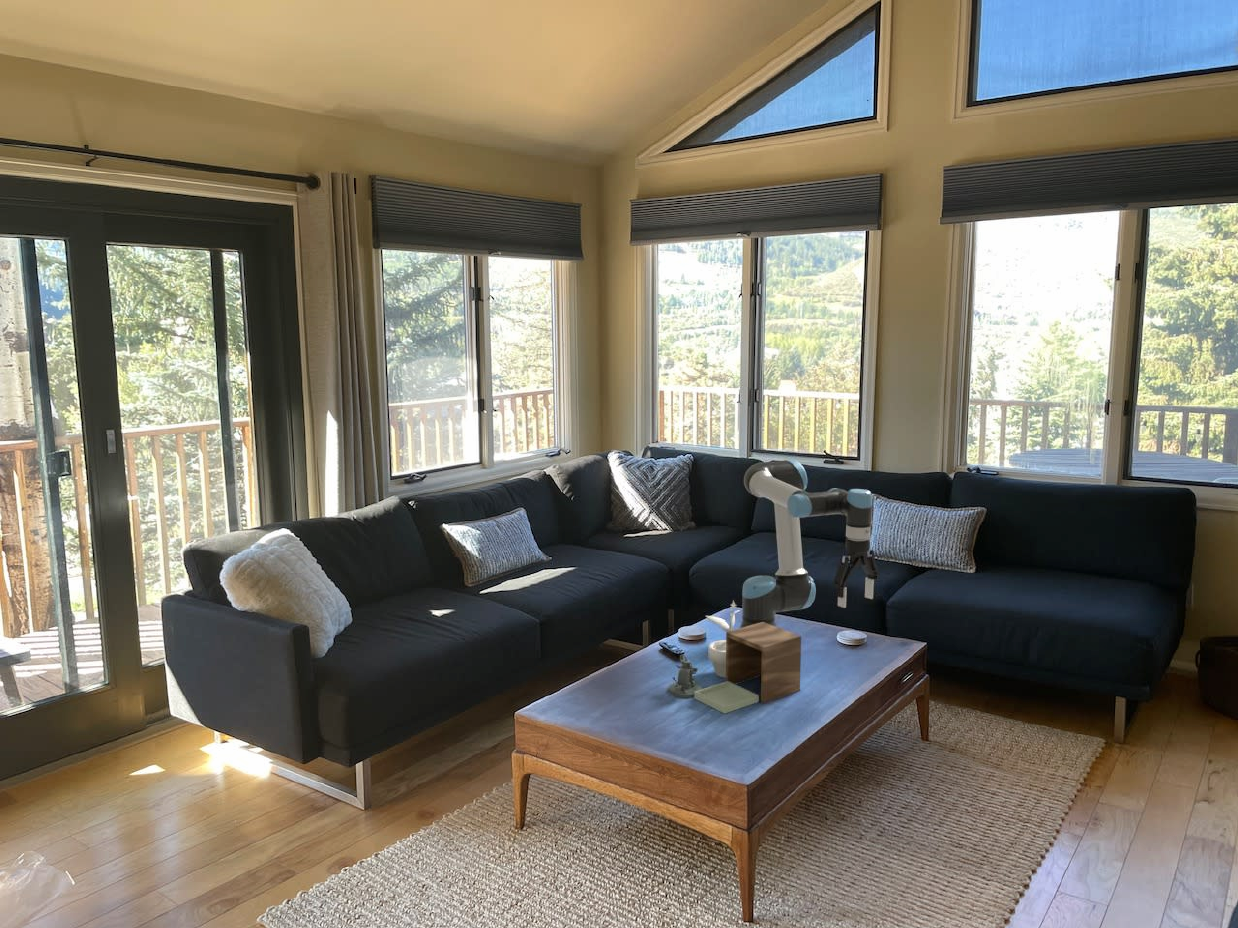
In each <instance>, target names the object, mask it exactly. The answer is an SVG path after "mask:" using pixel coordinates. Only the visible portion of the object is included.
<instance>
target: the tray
mask: <svg viewBox="0 0 1238 928" xmlns="http://www.w3.org/2000/svg"><path fill="white" fill-rule="evenodd" d="M759 696H760V695H759V694H757V693H755V692H752V691H750V690H748V689H746V688H744V687H741V686H739V685H737V684H733V683H731V682H729V681H726V680H725V681H724V682H721V683H718V684H714V685H711V686H707V687H705V688H702V690H698V691H695V692H694V697H693V698H694V699H695V700H697V701H699V702H701V703H702V704H705V705H707V706H709V707H711V708H713V709H714V710H717V711H718V712H721V713H723V714H727V713H731V712H733V711H737V710H739V709H742V708H745V707H748V706H751V705H753V704H756V703H759V702H760V701H759V700H760V697H759Z"/></svg>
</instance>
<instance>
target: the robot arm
mask: <svg viewBox="0 0 1238 928" xmlns="http://www.w3.org/2000/svg"><path fill="white" fill-rule="evenodd" d="M743 485H744V487H745V489H746V491H747V492H748V493H749V494H751V495H752V496H755V497H757V498H766V499H768V500H769V501H771V502H773V505H774V506H773V507H774V517H775V518H774V519H775V531H776V532H775V534H776V544H777V546H776V547H777V559H778V570H777V571H776V572H775V577H774V576H771V575H755V576H752V577H748V578H747V579H746V580H745V581H744V582H743V585H742V592H741V595H742V599H741V600H742V605H741V606H742V607H741V610H742V611H741V612H742V616H741V617H742V619H741V623H740V626H739V628H743V627H746V626H750V625H753V624H757V623H760V622H765V623H767V624H770V625H773V626H775V627H777V625H776V613H781V612H788V611H800V610H803V609H804V610H805V609H807V608H809V607H811V606H812V604H813V603H814V601H815V599H816V593H817V592H816V591H817V590H816V584H815V582H814V579H813V578H812V576H810V575H809V573H808V571H807V569H805V568H804V565H803V563H804V562H803V550H802V549H803V548H802V538H801V537H802V536H801V525H800V524H801V522H800V519H804V518H810V517H820V516H830V515H842V516H845V517H846V524H845V525H846V527H845V537H846V538H845V551H847V555H841V556H840V561H839V564H838V566H837V567H838V568H837V570H836V574H835V576H834V580H833V583H832V586H833V587H834V586H835V587H837V595H836V596H837V607H839V608H843V609H845V608H847V587H846V585H847V584H848V582H849V580H850V578H851V575H852V574H853V572H854V571H856V569H857V568H860V567H861V568H862V571H864V573H865V575H866V577H865V581H864V583H865V584H864V585H865V586H864V598H866V599H870V600H873V599H874V588H875V587H874V586H875V580H878V577H879V576H880V572H879V568H878V565H877V562H876V558H875V551H874V550H873V549H871V540H870V538H871V524H872V509H873V508H872V507H873V498H872V497H873V495H872V492H871V491H870V490H868V489H862V488H861V489H860V488H851V489H849V490H848V491H847V490H845V489H842V488H835V487H834V488H830V489H829V490H827V491H820V492H807V491H805V490H806V489H807V486H808V476H807V472H806V469H805V468H804V466H803V465H802V464H801V463H800V462H799V461H797V460H787V459H785V460H778V461H775V460H774V461H765V462H764V461H762V462H758V463H754V464H752V465H751V466H749V468H748V469H747V470H746V471H745V474H744V476H743Z"/></svg>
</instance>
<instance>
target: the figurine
mask: <svg viewBox="0 0 1238 928" xmlns="http://www.w3.org/2000/svg"><path fill="white" fill-rule="evenodd" d="M679 663H680V664H681V665H679V666H678V665H677V664H676V665H675V667H676V668H678V669H679V670H678V674H677V679H676V677H675V676H673V677H672V680H673V681H675V682H673V683H671V684H670V685H669V686H668V692H669V694H670V695H672V696H674V697H677V698H681V699H682V698H683V699H691V698H694V692H695V691H698V690H702V689H703V686H702V685H700V684H699V683H697V682H695V678H694V676H693V675H697V672H698V670H699V669H698V668H697V667H693V666H692V661H691V660H689V659H687V656H686V655H685V654H683V653H682V654H680V655H679Z"/></svg>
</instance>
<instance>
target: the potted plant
mask: <svg viewBox="0 0 1238 928" xmlns="http://www.w3.org/2000/svg"><path fill="white" fill-rule="evenodd" d="M730 606H731V608H732V611H733V613H732V612H731V613H730V614H729V615H730V621H729V624H728V622H727V620H725V619H724V618H721V617H718V616H713V615H705V617H706V619H707V620H708V621H710V622H712V623H714V624H715V625H718V627H720V628H721V629H722V630H723V631H724V632H725V633H726V632H728V631H732V629H733V628H734V625H735V623H736V622H735V621H736V616H735V614H738V612H740V611H741V610H740V609H739V610H738V609H736V610H735V611H734V608H735V607H738V604H736V603H735V599H733V600H732V603H731V604H730ZM707 649H708V652H707V653H708V656H707V658H708V660H710V661H711V664H712V667H713V670H714V673H715V675H716V676H718V677H721V678H724V679H726V639H720V640H714V641H712V642H710V643H708V648H707Z"/></svg>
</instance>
